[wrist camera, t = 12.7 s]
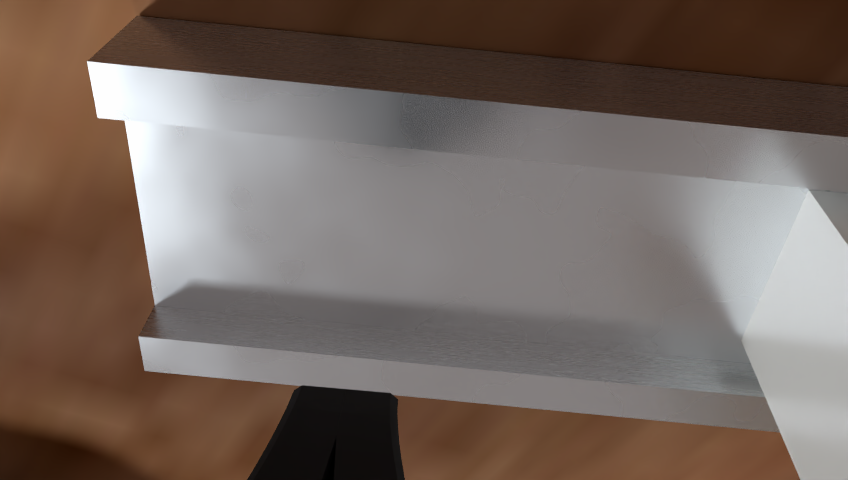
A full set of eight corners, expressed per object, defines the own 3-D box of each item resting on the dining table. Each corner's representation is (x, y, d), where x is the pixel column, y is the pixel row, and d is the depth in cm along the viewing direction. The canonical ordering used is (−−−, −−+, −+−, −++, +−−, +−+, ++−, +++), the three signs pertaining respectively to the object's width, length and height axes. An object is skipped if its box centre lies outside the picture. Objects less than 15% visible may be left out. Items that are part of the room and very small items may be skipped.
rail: (136, 15, 14) (-11, 150, 10) (1207, 123, 14) (1528, 303, 10) (177, 304, 18) (86, 489, 14) (1006, 385, 18) (1171, 593, 14)
